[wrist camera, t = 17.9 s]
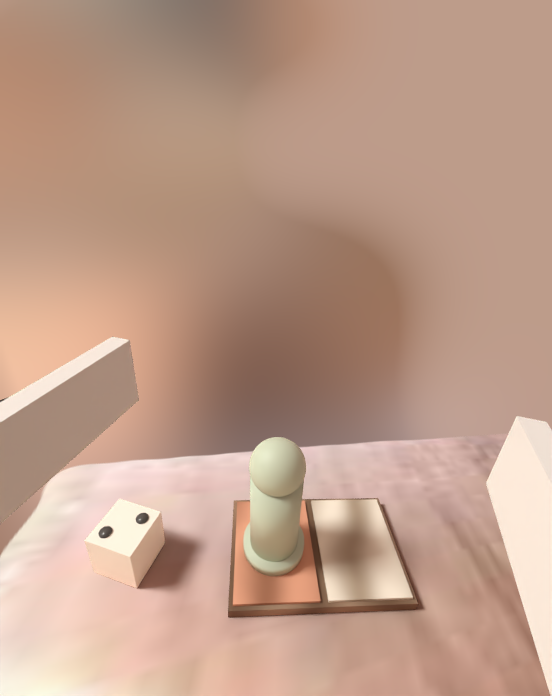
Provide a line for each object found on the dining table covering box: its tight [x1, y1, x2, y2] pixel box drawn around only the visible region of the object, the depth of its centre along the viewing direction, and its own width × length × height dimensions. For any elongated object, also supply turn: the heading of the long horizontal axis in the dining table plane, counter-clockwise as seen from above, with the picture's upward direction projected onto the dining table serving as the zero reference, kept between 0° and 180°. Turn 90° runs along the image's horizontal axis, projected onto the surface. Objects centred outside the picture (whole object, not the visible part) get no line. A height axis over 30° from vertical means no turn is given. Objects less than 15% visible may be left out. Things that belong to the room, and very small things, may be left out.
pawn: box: [243, 437, 306, 576], centre depth 34 cm, size 6×6×14 cm
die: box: [84, 499, 165, 588], centre depth 36 cm, size 5×5×5 cm
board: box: [228, 498, 418, 617], centre depth 38 cm, size 18×12×1 cm, turn 94°
